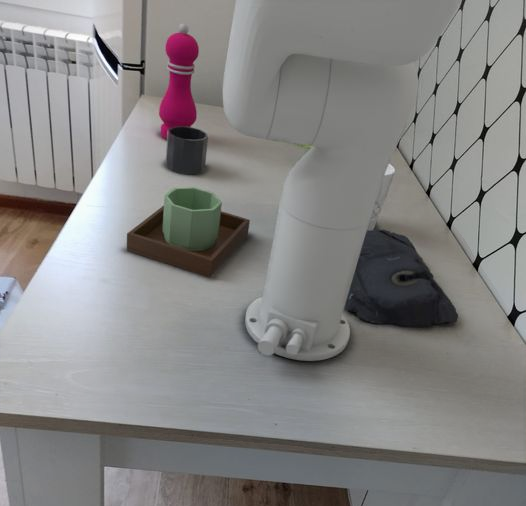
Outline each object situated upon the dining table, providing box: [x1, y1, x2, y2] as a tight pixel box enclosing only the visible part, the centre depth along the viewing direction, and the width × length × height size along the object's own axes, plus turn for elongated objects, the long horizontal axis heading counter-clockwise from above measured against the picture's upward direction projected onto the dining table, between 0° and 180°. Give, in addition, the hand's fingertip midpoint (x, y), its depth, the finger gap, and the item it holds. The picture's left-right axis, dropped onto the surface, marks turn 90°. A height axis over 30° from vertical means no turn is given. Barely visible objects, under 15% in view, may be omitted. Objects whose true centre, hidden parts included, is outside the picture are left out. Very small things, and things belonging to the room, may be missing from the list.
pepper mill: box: [158, 23, 200, 140], centre depth 110 cm, size 7×7×20 cm
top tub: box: [162, 186, 223, 251], centre depth 81 cm, size 7×7×6 cm
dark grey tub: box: [165, 126, 209, 176], centre depth 103 cm, size 7×7×6 cm
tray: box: [126, 205, 251, 278], centre depth 82 cm, size 14×12×3 cm
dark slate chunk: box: [344, 228, 459, 328], centre depth 82 cm, size 15×22×5 cm
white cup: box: [367, 163, 396, 231], centre depth 94 cm, size 8×8×10 cm
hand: (309, 18), depth 77 cm, fingers open, 9 cm apart
